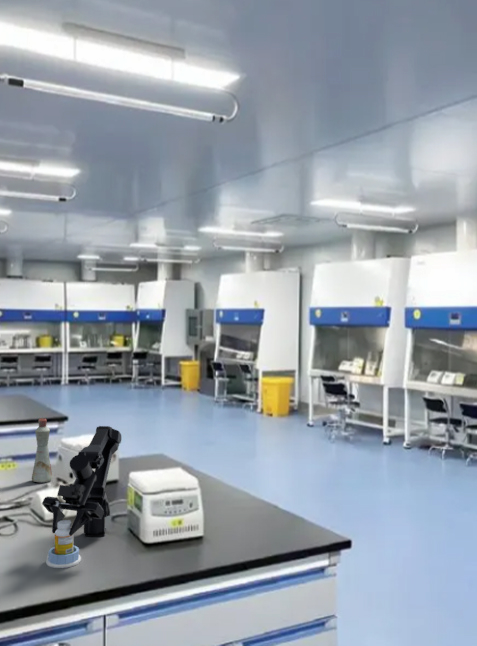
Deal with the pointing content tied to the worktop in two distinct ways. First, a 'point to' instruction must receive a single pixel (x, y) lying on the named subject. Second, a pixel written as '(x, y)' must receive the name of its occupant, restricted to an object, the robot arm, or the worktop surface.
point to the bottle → (42, 454)
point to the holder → (63, 558)
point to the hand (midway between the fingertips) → (61, 533)
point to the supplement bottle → (63, 538)
